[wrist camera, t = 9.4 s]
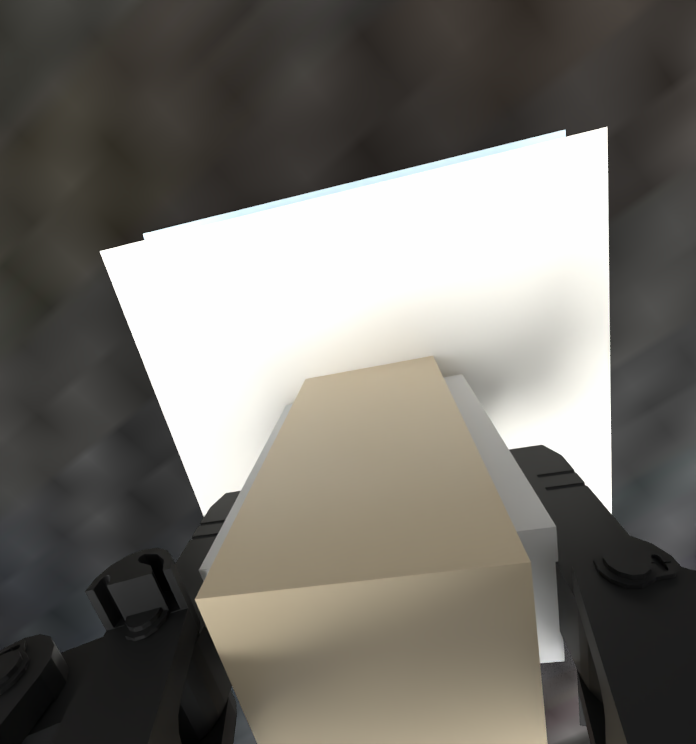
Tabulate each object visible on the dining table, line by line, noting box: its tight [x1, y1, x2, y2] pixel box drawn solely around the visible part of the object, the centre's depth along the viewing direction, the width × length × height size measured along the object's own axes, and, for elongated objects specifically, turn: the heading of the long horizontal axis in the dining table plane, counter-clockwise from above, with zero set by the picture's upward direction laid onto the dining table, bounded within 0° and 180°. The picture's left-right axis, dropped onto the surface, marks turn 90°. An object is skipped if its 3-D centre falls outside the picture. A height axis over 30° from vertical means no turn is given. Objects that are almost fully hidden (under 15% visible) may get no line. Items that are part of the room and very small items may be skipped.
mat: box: [143, 130, 566, 240], centre depth 19 cm, size 18×16×1 cm
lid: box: [100, 127, 612, 744], centre depth 9 cm, size 14×14×9 cm
